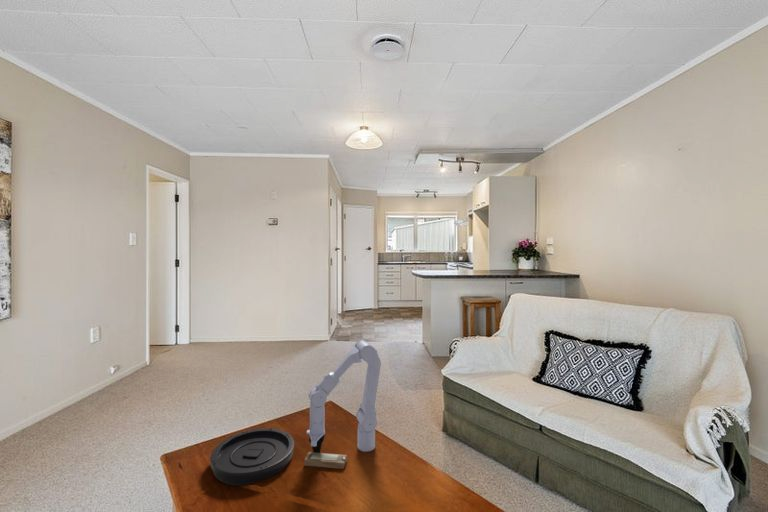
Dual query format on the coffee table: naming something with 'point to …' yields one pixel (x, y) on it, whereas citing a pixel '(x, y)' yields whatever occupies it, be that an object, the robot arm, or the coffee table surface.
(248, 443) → the round tray
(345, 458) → the frame
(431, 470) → the coffee table surface
